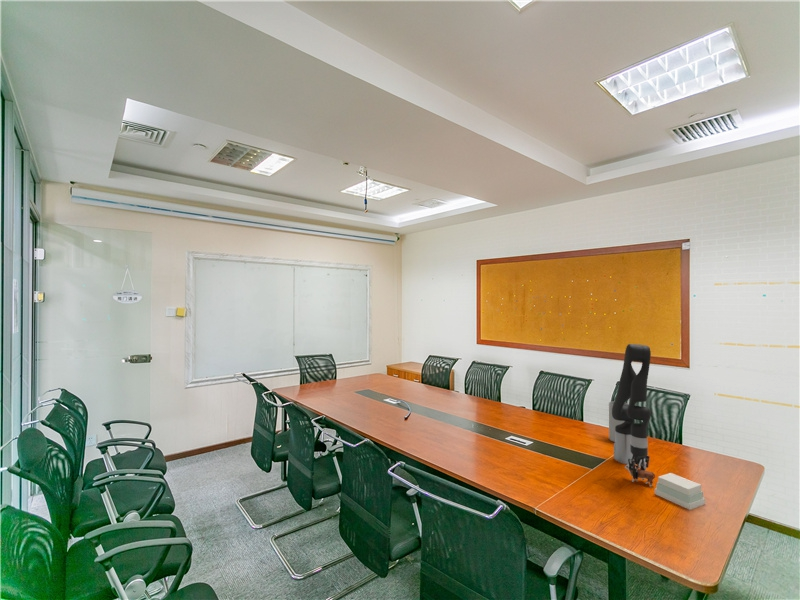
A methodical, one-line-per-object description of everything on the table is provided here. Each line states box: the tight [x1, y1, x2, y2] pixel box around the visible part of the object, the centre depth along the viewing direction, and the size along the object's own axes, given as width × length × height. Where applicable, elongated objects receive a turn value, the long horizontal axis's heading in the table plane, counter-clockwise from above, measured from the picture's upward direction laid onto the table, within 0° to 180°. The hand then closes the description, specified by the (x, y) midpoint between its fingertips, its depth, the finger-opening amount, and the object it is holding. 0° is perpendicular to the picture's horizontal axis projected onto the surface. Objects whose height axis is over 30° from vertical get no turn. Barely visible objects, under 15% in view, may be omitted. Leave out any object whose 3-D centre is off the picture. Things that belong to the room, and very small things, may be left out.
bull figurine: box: [624, 464, 656, 488], centre depth 187 cm, size 4×13×8 cm, turn 45°
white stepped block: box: [654, 472, 706, 511], centre depth 171 cm, size 15×12×9 cm
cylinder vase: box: [608, 400, 629, 443], centre depth 245 cm, size 12×12×25 cm
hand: (639, 477), depth 187 cm, fingers open, 5 cm apart
